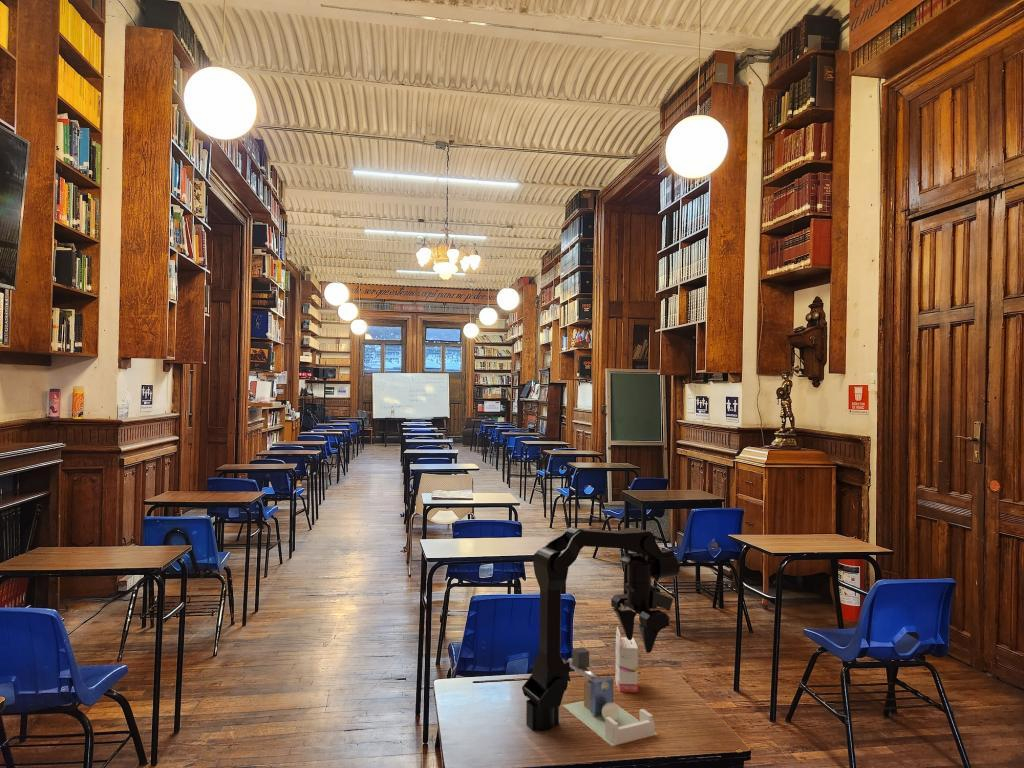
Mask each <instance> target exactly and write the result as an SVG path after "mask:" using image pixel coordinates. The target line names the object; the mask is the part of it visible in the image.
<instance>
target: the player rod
mask: <svg viewBox="0 0 1024 768" xmlns="http://www.w3.org/2000/svg"><path fill="white" fill-rule="evenodd" d="M571 652H572V653H571V655H572V656H571V657H570V658H567V660H566V661H568V662H569V663H570V669H572V670H574V671H575V672H576V673H578V674H580V675H581V676H582V677H583V678H585V679H586V680H587V681H590V712H591V713H592V714H594V715H595V716H596V715H601V714H602V707H603V705H604V704H606V703H608V702H612V703H613V702H614V678H612V677H611V676H609V675H608V676H603V677H601V676H599V675H598V674H596V673H595V672H593V671H592V670H590V669H588V668H589V667H590V650H588V649H586V648H585V647H582V646H581V647H577V648H571Z"/></svg>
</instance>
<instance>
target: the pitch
mask: <svg viewBox="0 0 1024 768" xmlns="http://www.w3.org/2000/svg"><path fill="white" fill-rule="evenodd" d="M613 703H614V704H616V703H615V702H614V701H613ZM616 705H617V707H618V708H619V717H618V718H617V720H615V722H617V723H618V727H621V726H625V725H629V724H633V723H637V722H639V719H638V718H636V717H635V716H633V715H631V714H630V713H629V712H628V711H626V710H625V709H623V708H622V707H620V706H619V705H618V704H616ZM562 707H564V708H565V709H566V710H567V711H568V712H570V713H571V714H572V715H573V716H574V717H576V719H578V720H580V722H582V723H583V724H584V725H585V726H586V727H588V728H589V729H590V730H591V731H593V732H594V733H595V734H596V735H598V736H599V737H600V738H601V739H602V740H604V741H605V742H606V743H607V744H608V745H610V746H611V747H615V746H618V745H619V744H617V745H615V744H614V743H613V742H612V741H610V740H609V739H608V738H607V737H605V719H604V718H603V716H602V714H601V715H596V716H595V715H594V714H592V713H591V712H590V681H589V680H585V681H583V700H581V701H576V702H572V703H571V702H570V703H567V704H562ZM658 735H659V734H658V733H657V732H656V731H654V735H653V736H658ZM653 736H652V737H653ZM650 737H651V736H649V737H648V738H650ZM645 738H647V737H645ZM645 738H644V739H645ZM641 739H643V738H641ZM641 739H640V740H641ZM637 740H639V739H637ZM637 740H636V741H637ZM634 741H635V740H633V741H632V742H634ZM629 742H631V741H629ZM629 742H628V743H629ZM626 743H627V742H625V743H624V744H626ZM622 744H623V743H621V744H620V745H622Z"/></svg>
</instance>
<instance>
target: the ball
mask: <svg viewBox="0 0 1024 768" xmlns="http://www.w3.org/2000/svg"><path fill="white" fill-rule="evenodd" d="M614 703H615V702H614ZM614 703H612V702H608V703H606V704H604V705H603V707H602V716H603V718H604V719H605V718H606V717H610V718H612V719H613V720H614V721H615V720H617V718H618V717H619V708H618V707H617V705H618V704H617V703H615V704H614Z"/></svg>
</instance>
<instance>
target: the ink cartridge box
mask: <svg viewBox="0 0 1024 768" xmlns="http://www.w3.org/2000/svg"><path fill="white" fill-rule="evenodd" d="M621 635H622V634H621V632H620V629H619V626H618V625H617V626H616V630H615V671H614V672H615V679H614V680H615V681H614V682H615V684H616V688H617V690H618V692H623V693H624V692H625V693H626V692H627V693H628V692H630V693H631V692H633V693H636V692H639V647H638V645H637V643H636V640H635V638H634V637H633V636H632V640H628V639H627V637H626V636H625V637H624V636H623V637H622V636H621Z"/></svg>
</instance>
